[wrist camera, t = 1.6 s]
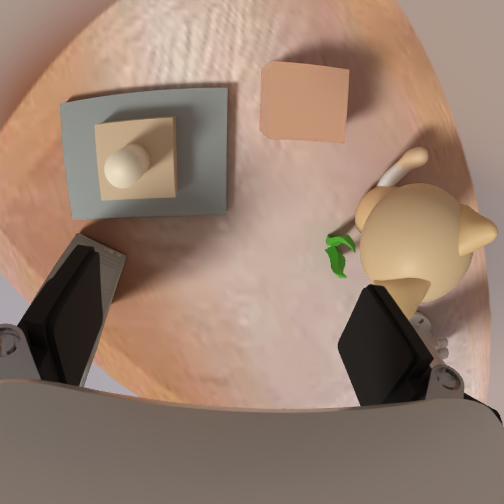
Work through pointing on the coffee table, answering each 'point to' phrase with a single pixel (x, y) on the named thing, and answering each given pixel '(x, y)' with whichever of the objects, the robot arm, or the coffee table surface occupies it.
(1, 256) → the coffee table surface
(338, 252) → the kitten
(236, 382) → the coffee table surface
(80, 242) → the skincare box
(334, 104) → the peach cardboard cube
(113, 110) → the post board
